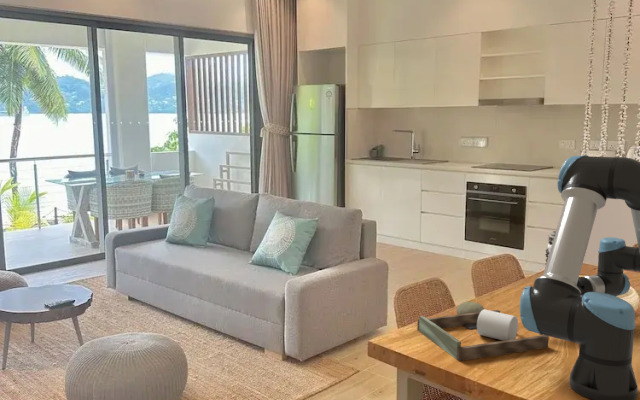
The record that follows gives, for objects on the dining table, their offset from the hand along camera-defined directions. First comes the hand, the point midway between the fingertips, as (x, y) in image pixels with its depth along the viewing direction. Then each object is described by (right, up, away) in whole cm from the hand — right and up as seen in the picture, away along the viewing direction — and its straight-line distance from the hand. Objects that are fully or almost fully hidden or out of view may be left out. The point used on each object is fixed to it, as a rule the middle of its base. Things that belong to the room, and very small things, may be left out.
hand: (524, 296), depth 175 cm
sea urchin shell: (-13, -10, +16) cm, 23 cm away
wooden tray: (-15, -12, -4) cm, 20 cm away
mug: (-8, -12, -1) cm, 15 cm away
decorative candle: (+25, -7, +37) cm, 45 cm away
